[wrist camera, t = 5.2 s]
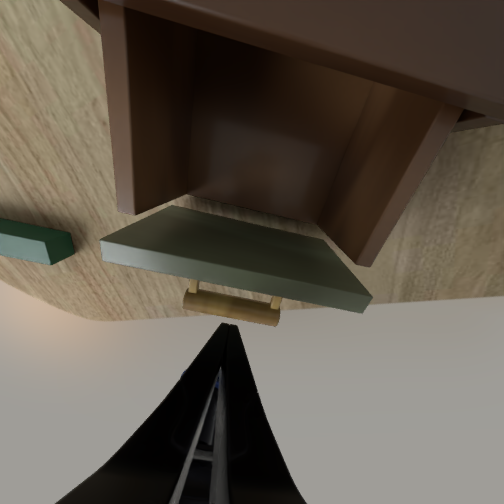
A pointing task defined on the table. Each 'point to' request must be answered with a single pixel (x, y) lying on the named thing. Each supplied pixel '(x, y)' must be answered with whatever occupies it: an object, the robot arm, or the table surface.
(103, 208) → the table surface
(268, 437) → the robot arm
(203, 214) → the drawer
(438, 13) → the cabinet
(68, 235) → the green marker
